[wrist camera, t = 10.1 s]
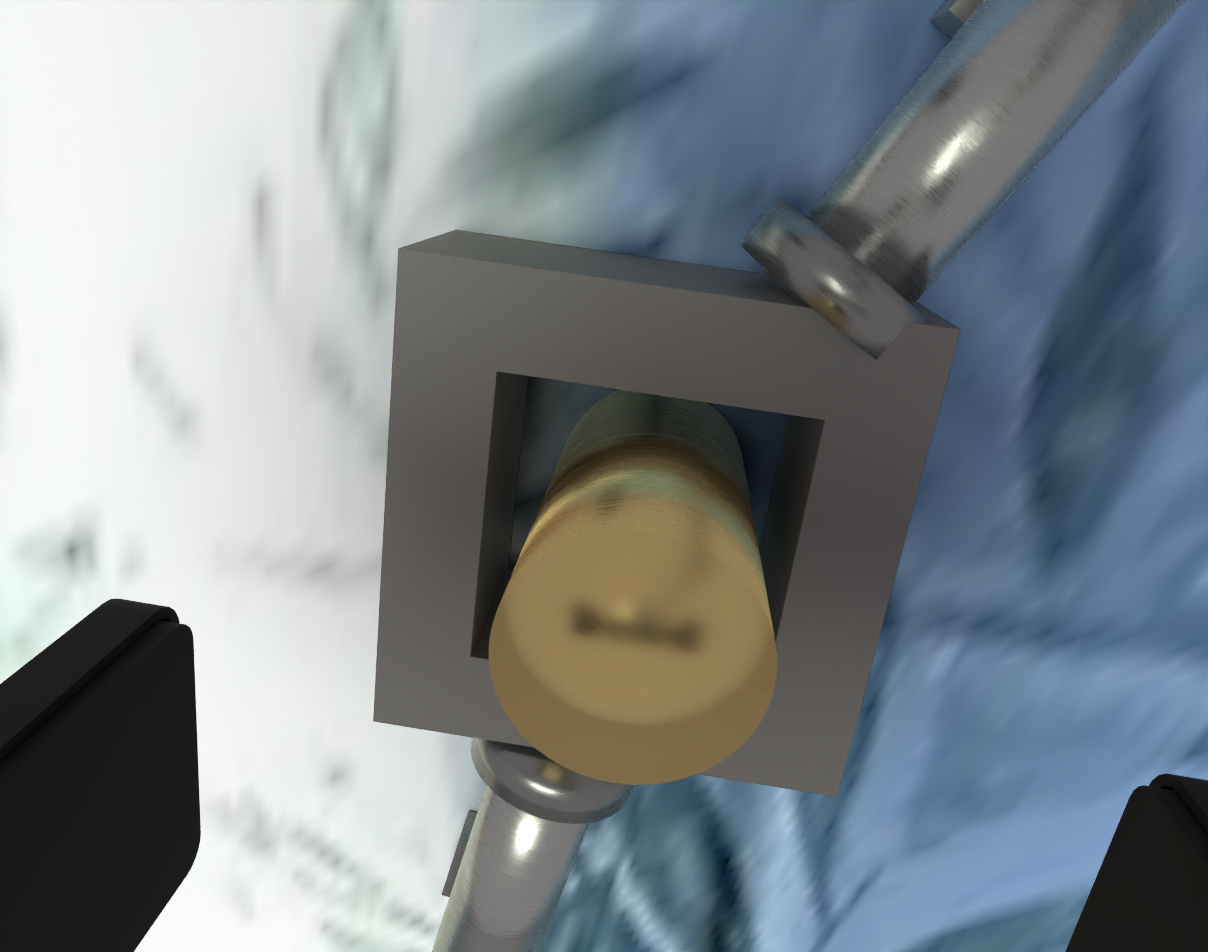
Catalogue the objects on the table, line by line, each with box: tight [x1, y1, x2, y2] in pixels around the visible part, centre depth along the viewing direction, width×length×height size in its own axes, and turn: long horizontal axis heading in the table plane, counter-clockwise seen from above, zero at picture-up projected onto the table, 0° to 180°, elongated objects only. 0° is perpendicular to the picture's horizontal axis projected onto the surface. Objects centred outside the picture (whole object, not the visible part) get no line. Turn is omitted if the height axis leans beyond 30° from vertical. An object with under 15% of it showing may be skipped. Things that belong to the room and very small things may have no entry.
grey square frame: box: [373, 230, 960, 797], centre depth 18 cm, size 9×9×4 cm
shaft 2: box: [740, 0, 1186, 360], centre depth 16 cm, size 7×4×4 cm, turn 143°
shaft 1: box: [432, 738, 633, 952], centre depth 21 cm, size 7×4×4 cm, turn 162°
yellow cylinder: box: [489, 390, 777, 785], centre depth 16 cm, size 4×4×8 cm
